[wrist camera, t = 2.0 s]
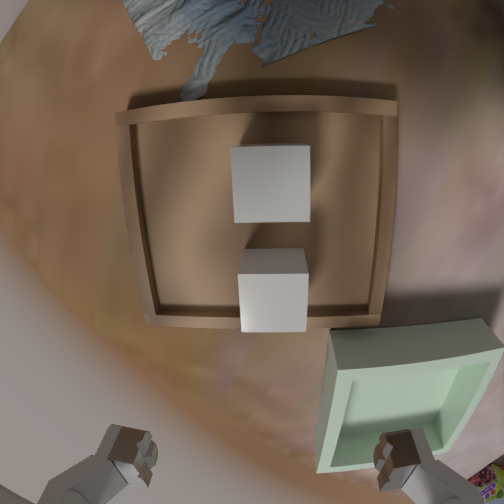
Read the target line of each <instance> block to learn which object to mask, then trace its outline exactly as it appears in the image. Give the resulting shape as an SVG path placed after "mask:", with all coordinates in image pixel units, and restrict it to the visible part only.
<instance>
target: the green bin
mask: <svg viewBox="0 0 504 504" xmlns="http://www.w3.org/2000/svg"><path fill="white" fill-rule="evenodd" d="M503 352H504V345H503V343H502V342H501V341H500V340H499V339H498V337H497V336H496V335H495V334H494V333H493V331H492V330H491V329H490V328H489V327H488V325H487V324H486V323H485V322H484V321H483V320H482V318H476V319H468V320H460V321H452V322H443V323H434V324H423V325H413V326H401V327H388V328H373V329H355V330H333V331H329V338H328V346H327V355H326V363H325V371H324V378H323V386H322V392H321V399H320V406H319V412H318V418H317V424H316V430H315V436H314V444H315V458H316V473H328V472H340V471H350V470H359V469H366V468H373V467H375V466H374V458H373V456H374V450H375V447H376V445H377V444H379V443H380V441H379V437H380V435H381V434H382V433H386V432H392V431H398V430H403V429H410V428H415V427H422V428H423V430H424V432H425V435H426V438H427V440H428V443H429V446H430V448H431V451H432V454H433V456H434V455H438V454H442V453H446V452H448V451H449V450H450V448H451V447H452V445H453V444H454V442H455V441H456V439H457V438H458V436H459V435H460V433H461V432H462V430H463V428H464V427H465V425H466V423H467V422H468V420H469V418H470V417H471V415H472V413H473V412H474V410H475V408H476V406H477V405H478V403H479V401H480V399H481V397H482V395H483V394H484V392H485V390H486V388H487V386H488V384H489V382H490V380H491V378H492V376H493V374H494V372H495V370H496V367H497V365H498V363H499V361H500V359H501V356H502V354H503Z"/></svg>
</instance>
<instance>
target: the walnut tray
mask: <svg viewBox="0 0 504 504" xmlns="http://www.w3.org/2000/svg"><path fill="white" fill-rule="evenodd" d="M115 117H116V133H117V146H118V157H119V168H120V177H121V186H122V194H123V202H124V209H125V216H126V223H127V229H128V236H129V242H130V247H131V253H132V259H133V264H134V269H135V274H136V280H137V284H138V289H139V294H140V299H141V303H142V308H143V312H144V316H145V321H146V325H154V326H171V327H192V328H224V329H241V317H240V303H239V288H238V271H239V267H240V263H241V259H242V255H243V252H244V249H279V248H303V249H304V253H305V258H306V263H307V267H308V272H309V282H308V305H307V324H306V329H308V328H339V327H360V326H377V325H379V324H380V318H381V313H382V307H383V301H384V295H385V289H386V282H387V275H388V268H389V260H390V252H391V244H392V234H393V224H394V212H395V198H396V181H397V150H398V117H397V101H392V100H382V99H372V98H359V97H344V96H321V95H267V96H243V97H227V98H215V99H204V100H194V101H185V102H177V103H170V104H162V105H156V106H149V107H143V108H137V109H132V110H126V111H121V112H116V113H115ZM264 143H304V144H307V145H309V146H310V222H255V223H234V206H233V188H232V170H231V150H230V147H233V146H236V145H239V144H264Z"/></svg>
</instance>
